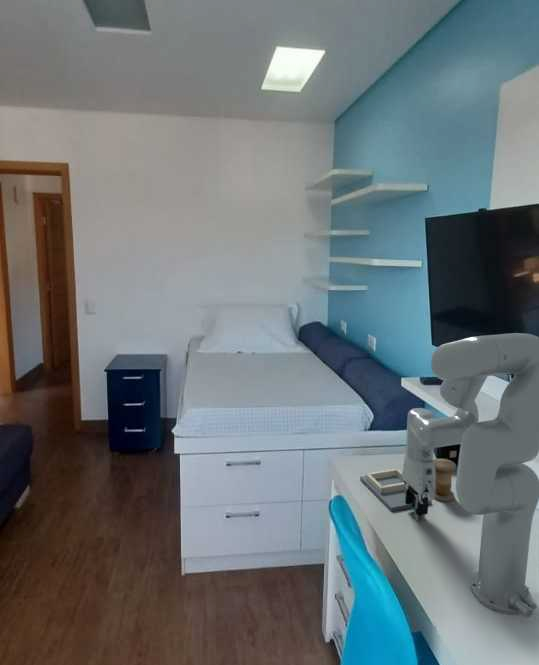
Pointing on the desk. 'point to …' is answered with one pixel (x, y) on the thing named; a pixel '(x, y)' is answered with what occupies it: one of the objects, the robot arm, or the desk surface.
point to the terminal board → (388, 488)
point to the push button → (414, 503)
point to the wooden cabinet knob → (443, 479)
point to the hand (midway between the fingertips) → (416, 508)
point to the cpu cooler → (448, 453)
